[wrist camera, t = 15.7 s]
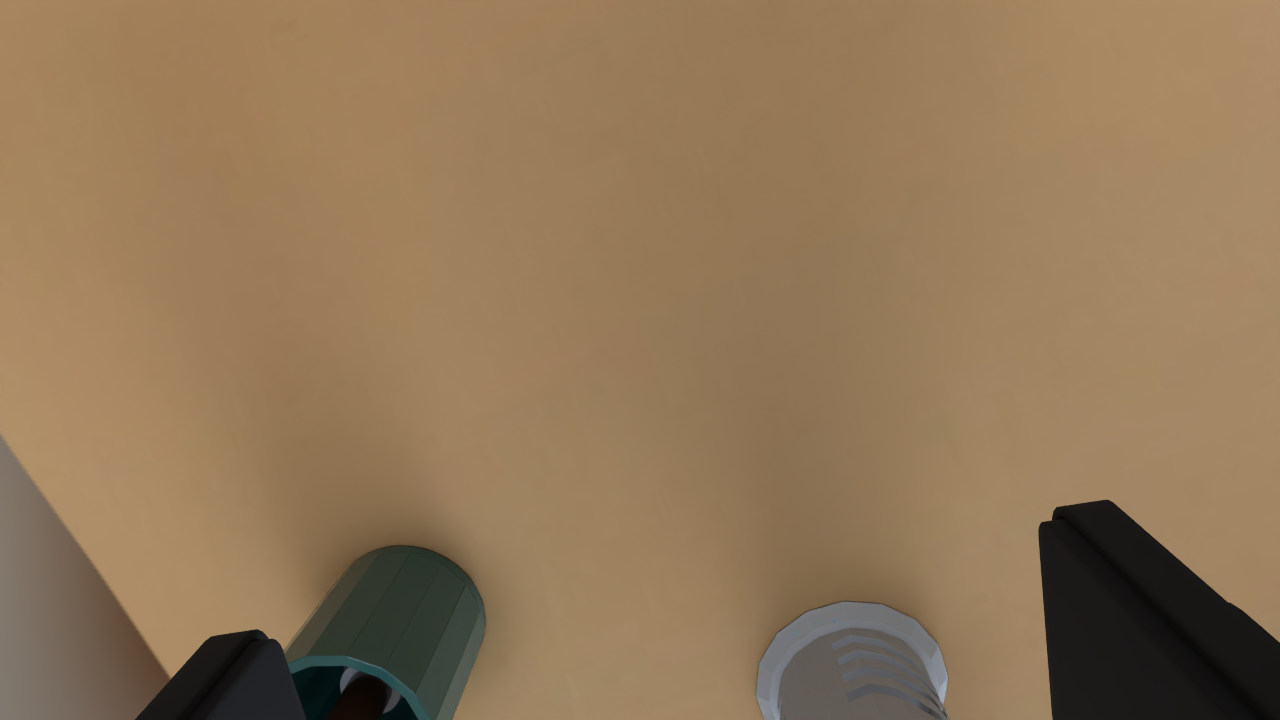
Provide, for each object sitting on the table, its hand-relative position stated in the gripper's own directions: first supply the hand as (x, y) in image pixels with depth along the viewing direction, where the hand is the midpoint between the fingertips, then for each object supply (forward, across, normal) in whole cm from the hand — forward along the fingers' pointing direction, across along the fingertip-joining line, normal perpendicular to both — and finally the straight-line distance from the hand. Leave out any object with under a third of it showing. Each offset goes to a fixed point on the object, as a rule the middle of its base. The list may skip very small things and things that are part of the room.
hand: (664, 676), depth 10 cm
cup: (+30, +16, +15) cm, 37 cm away
